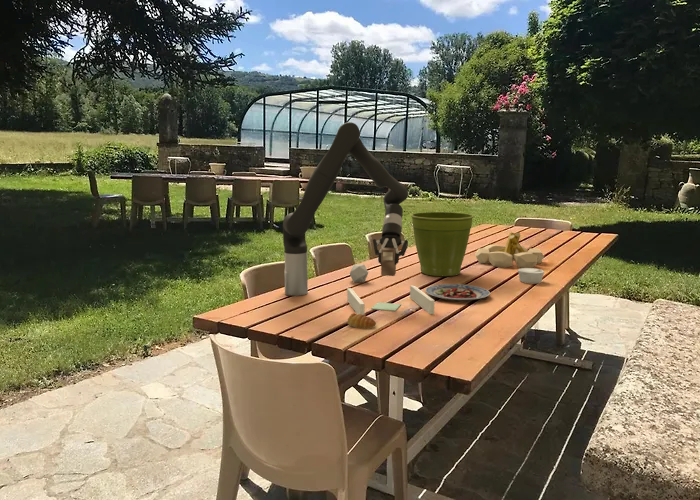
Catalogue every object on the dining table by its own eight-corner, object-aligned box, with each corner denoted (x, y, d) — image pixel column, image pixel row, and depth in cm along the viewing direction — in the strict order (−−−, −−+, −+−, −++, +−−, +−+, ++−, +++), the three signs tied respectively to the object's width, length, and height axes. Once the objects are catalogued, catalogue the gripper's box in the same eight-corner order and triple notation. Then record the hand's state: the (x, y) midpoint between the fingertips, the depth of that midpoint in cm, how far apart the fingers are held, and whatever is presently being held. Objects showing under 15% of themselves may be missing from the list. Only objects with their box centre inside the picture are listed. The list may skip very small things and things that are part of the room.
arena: (360, 318, 190) (360, 304, 189) (347, 300, 213) (347, 288, 212) (434, 314, 195) (434, 300, 194) (413, 297, 218) (414, 285, 217)
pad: (371, 309, 201) (371, 308, 201) (378, 303, 209) (378, 302, 209) (394, 311, 198) (394, 310, 198) (400, 305, 207) (400, 304, 206)
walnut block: (381, 275, 205) (381, 249, 203) (382, 272, 210) (383, 247, 208) (394, 276, 204) (394, 249, 202) (395, 273, 209) (396, 247, 208)
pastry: (379, 326, 181) (380, 314, 181) (369, 331, 176) (369, 320, 175) (355, 321, 186) (355, 310, 186) (345, 326, 181) (345, 315, 180)
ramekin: (545, 284, 242) (545, 273, 241) (518, 283, 244) (519, 272, 243) (541, 279, 252) (542, 268, 252) (516, 278, 255) (517, 267, 254)
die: (361, 286, 241) (373, 267, 243) (345, 276, 242) (356, 257, 244) (361, 288, 249) (372, 270, 251) (345, 278, 250) (356, 261, 252)
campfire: (533, 271, 272) (535, 237, 269) (467, 264, 289) (468, 233, 286) (548, 260, 301) (550, 230, 298) (488, 255, 318) (489, 226, 316)
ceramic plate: (497, 293, 226) (497, 286, 226) (478, 307, 204) (478, 300, 204) (439, 286, 239) (439, 279, 239) (415, 299, 217) (415, 291, 217)
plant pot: (417, 265, 285) (418, 211, 280) (474, 269, 275) (477, 213, 270) (403, 277, 257) (404, 216, 252) (467, 281, 247) (469, 218, 243)
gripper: (373, 221, 213) (368, 257, 203) (409, 222, 210) (406, 258, 200) (375, 233, 219) (370, 268, 209) (410, 233, 216) (407, 269, 206)
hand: (388, 263), depth 205 cm, fingers closed on walnut block, 5 cm apart
